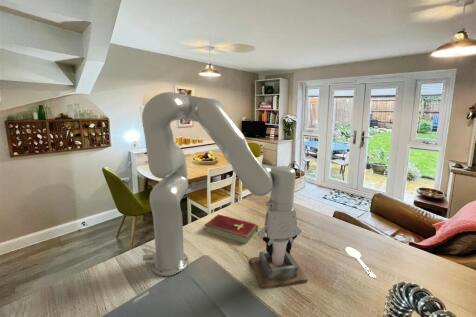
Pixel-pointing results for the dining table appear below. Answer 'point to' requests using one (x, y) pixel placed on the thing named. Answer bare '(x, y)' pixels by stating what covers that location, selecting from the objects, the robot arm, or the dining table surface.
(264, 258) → the holder
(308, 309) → the dining table surface
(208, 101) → the robot arm
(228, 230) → the hardcover book
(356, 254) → the spoon
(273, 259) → the smoothie
